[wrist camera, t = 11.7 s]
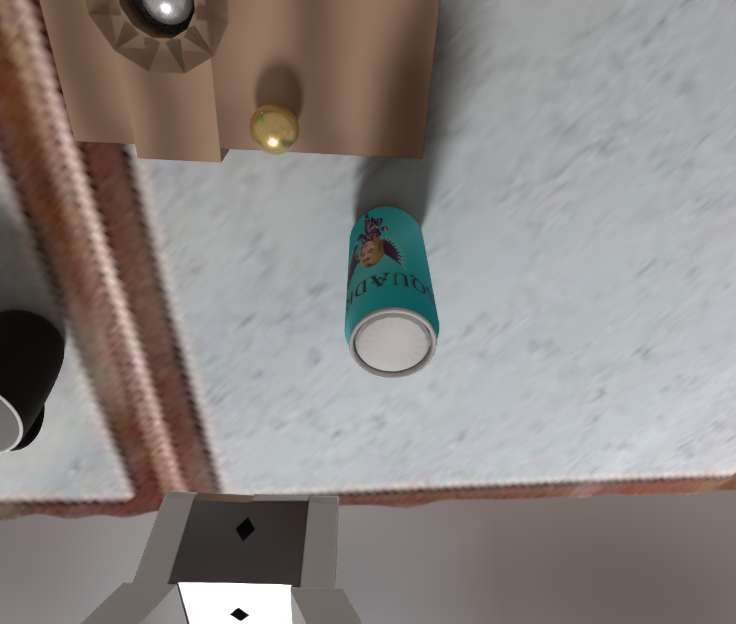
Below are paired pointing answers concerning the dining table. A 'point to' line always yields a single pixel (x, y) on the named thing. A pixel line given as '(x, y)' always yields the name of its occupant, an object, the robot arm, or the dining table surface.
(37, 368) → the mug
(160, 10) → the steel ball
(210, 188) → the dining table surface
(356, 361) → the beverage can
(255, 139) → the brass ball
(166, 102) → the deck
